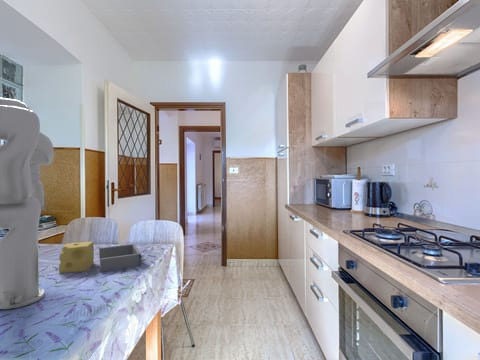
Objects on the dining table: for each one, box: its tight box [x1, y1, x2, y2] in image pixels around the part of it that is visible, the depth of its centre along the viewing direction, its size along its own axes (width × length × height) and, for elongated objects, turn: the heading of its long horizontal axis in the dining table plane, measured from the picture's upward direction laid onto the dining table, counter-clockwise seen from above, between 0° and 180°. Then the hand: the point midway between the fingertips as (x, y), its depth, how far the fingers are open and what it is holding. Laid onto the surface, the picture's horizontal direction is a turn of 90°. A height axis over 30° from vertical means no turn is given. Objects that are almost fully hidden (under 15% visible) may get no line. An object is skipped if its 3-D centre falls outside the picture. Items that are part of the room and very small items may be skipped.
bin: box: [98, 243, 142, 273], centre depth 119 cm, size 20×15×5 cm
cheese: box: [58, 241, 95, 274], centre depth 112 cm, size 10×11×10 cm
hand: (28, 226), depth 105 cm, fingers closed
